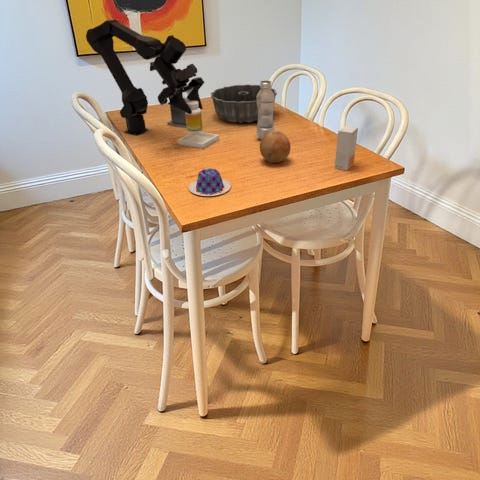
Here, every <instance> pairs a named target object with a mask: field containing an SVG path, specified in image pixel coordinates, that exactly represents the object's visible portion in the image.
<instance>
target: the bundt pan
mask: <svg viewBox="0 0 480 480" xmlns="http://www.w3.org/2000/svg"><path fill="white" fill-rule="evenodd" d="M270 89H271V90H272V92H273V94H274V96H275V98H276V96H277V95H278V93H277V92H276V91H277V90H276V89H275V88H272V87H271V88H270ZM260 90H261V88H260V84H235V85H230V86H223V87H221V88H220V87H219V88H217V89H214V90H213V92H210V98H211V99H212V103H213V107H214V110H215V114H216V115H217V116H218V117H219V118H220V119H222V120H223V121H225V122H231V123H237V122H238V123H240V124H243V123H253V122H258V107H257V101H256V97H257V94H258V92H259V91H260ZM275 103H276V102H274V104H275Z"/></svg>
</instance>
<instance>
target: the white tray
mask: <svg viewBox="0 0 480 480" xmlns="http://www.w3.org/2000/svg"><path fill="white" fill-rule="evenodd" d="M219 140H220V135H219V134H216V133H212V132H211V133H210V132H206V131H205V132H203V131H201V132H198V133H190V132H188V133H187V134H186V135H183V136H182V137H180V138H178V139H177V144H178V146H184V147H189V148H190V147H191V148H195V149H200V150H205V149H207V147H209V146H211V145H213V144H214V143H216V142H218V141H219Z"/></svg>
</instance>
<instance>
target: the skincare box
mask: <svg viewBox="0 0 480 480" xmlns="http://www.w3.org/2000/svg"><path fill="white" fill-rule="evenodd" d="M358 133H359V127H358V126H354V125H353V126H352V125H343V127H341V128H340V129H339V130H338V132H337V140H336V150H335V157H334V169H337V170H343V171H348V170H349V169H350V168H351V167H353V165H354V163H355V156H356V149H357V141H358Z"/></svg>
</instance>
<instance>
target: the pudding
mask: <svg viewBox="0 0 480 480" xmlns="http://www.w3.org/2000/svg"><path fill="white" fill-rule="evenodd" d="M224 185H225V189H224ZM231 186H232V185H231V183H230V182H229V181H228V180H226V179H224V178H222V176H221V173H220V171H218V170H217V169H216V168H210V167H209V168H204V169H201V170H200V171H198V174H197V180H194V181H193V182H191V183H190V184H189V186H188V190H189V192H191V193H192V194H195V195H198V196H204V197H212V196H218V195H223V194H225V193H226V192H229V190H230V189H231ZM223 190H224V191H223ZM196 191H197V192H196ZM220 191H223V192H221V193H219V192H220ZM200 193H201V194H200ZM215 193H217V194H215ZM206 194H208V195H206ZM209 194H212V195H209Z"/></svg>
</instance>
